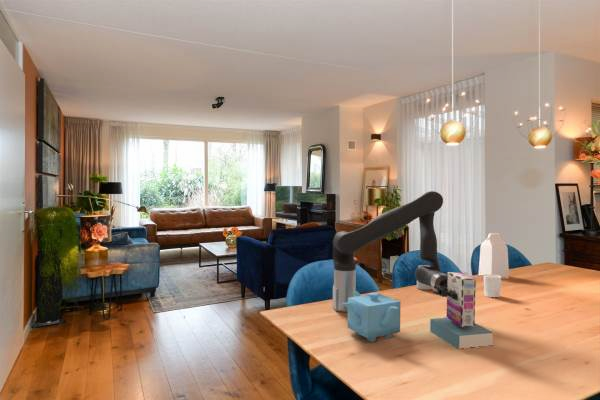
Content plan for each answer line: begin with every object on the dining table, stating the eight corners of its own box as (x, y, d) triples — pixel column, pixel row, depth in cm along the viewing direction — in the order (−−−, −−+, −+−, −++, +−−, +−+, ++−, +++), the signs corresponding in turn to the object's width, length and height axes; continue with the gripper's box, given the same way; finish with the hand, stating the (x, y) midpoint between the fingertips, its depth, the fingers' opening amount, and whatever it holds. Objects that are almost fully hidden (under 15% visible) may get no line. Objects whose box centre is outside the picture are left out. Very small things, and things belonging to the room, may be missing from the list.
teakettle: (401, 329, 143) (401, 289, 143) (398, 348, 125) (398, 303, 125) (350, 323, 149) (350, 285, 149) (340, 341, 131) (341, 298, 131)
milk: (491, 278, 228) (492, 234, 227) (478, 274, 239) (479, 232, 238) (509, 278, 230) (509, 234, 230) (495, 274, 241) (496, 232, 241)
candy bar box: (475, 327, 129) (476, 278, 129) (461, 328, 129) (462, 278, 128) (459, 316, 140) (460, 271, 140) (445, 316, 140) (446, 271, 139)
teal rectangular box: (457, 350, 125) (458, 334, 125) (430, 332, 141) (430, 318, 141) (493, 347, 128) (493, 332, 128) (462, 329, 144) (462, 316, 144)
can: (432, 290, 199) (432, 267, 199) (417, 290, 200) (417, 267, 200) (430, 287, 206) (431, 264, 206) (416, 286, 208) (416, 264, 207)
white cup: (483, 297, 188) (484, 276, 187) (482, 293, 195) (483, 273, 195) (501, 299, 185) (502, 278, 184) (500, 295, 192) (500, 274, 192)
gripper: (425, 274, 148) (443, 286, 131) (462, 274, 149) (485, 285, 132) (425, 294, 148) (443, 307, 131) (462, 294, 149) (484, 307, 132)
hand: (464, 296), depth 132 cm, fingers closed on candy bar box, 5 cm apart
